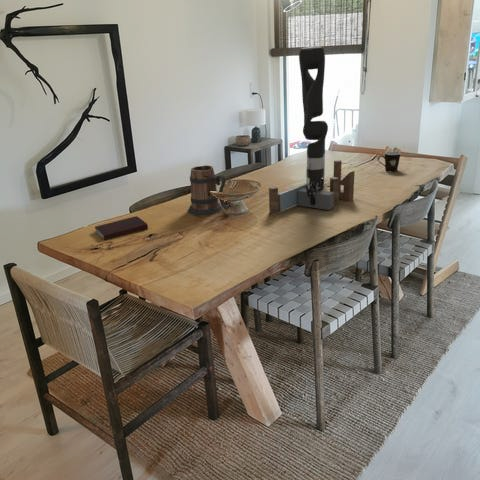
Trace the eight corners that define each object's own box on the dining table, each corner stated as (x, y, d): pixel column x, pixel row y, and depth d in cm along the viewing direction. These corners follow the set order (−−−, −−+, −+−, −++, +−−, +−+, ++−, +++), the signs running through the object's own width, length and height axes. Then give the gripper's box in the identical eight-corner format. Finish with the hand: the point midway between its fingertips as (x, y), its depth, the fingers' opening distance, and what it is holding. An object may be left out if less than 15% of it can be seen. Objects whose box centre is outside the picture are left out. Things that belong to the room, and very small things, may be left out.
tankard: (180, 212, 221) (175, 170, 213) (201, 202, 234) (198, 162, 226) (221, 219, 209) (218, 175, 201) (241, 208, 222) (239, 166, 214)
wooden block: (348, 201, 224) (350, 164, 217) (330, 197, 231) (331, 160, 224) (353, 199, 226) (355, 162, 219) (335, 195, 234) (336, 159, 227)
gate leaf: (275, 211, 214) (274, 194, 211) (311, 196, 232) (311, 180, 229) (279, 212, 213) (278, 195, 210) (315, 197, 231) (315, 181, 227)
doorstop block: (297, 205, 221) (297, 190, 218) (302, 202, 224) (301, 188, 221) (329, 210, 212) (329, 195, 209) (333, 207, 215) (333, 192, 213)
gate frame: (269, 213, 214) (268, 187, 209) (335, 201, 225) (335, 176, 220) (272, 215, 211) (271, 189, 207) (338, 203, 222) (339, 178, 217)
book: (148, 230, 203) (147, 223, 201) (104, 241, 193) (103, 234, 192) (137, 222, 213) (136, 215, 211) (95, 232, 203) (93, 225, 202)
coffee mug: (401, 169, 273) (402, 152, 269) (396, 173, 266) (398, 155, 262) (380, 167, 279) (382, 150, 275) (376, 171, 272) (377, 153, 268)
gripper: (314, 162, 218) (314, 197, 225) (300, 169, 208) (300, 206, 214) (329, 163, 214) (329, 199, 221) (315, 171, 204) (315, 209, 210)
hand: (315, 202), depth 217 cm, fingers closed on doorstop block, 4 cm apart
